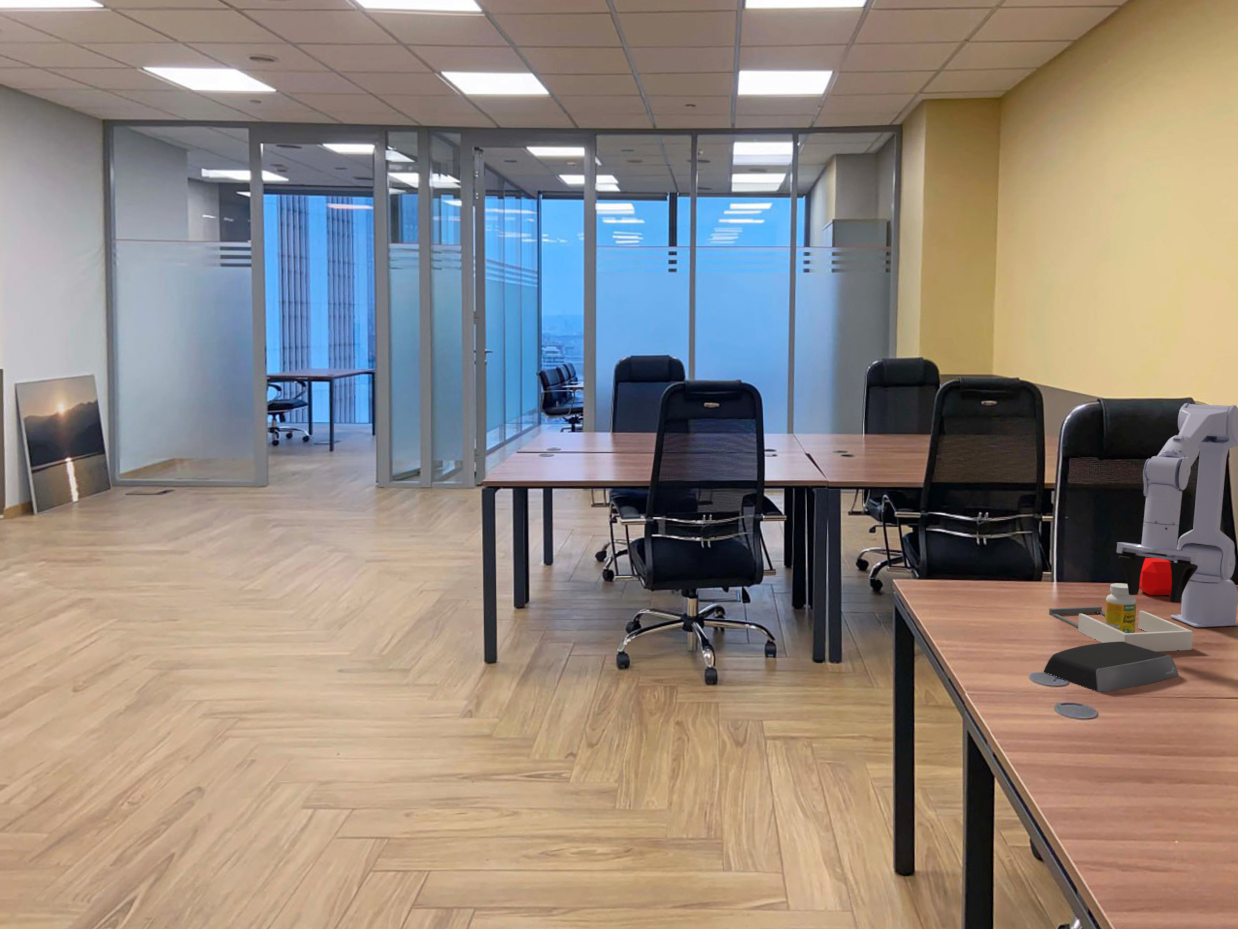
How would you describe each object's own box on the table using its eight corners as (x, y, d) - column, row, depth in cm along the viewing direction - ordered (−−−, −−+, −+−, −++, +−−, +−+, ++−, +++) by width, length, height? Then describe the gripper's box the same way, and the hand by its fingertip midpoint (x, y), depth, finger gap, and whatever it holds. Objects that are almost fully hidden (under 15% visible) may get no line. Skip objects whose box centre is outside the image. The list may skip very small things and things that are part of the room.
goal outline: (1099, 611, 228) (1099, 606, 227) (1129, 625, 217) (1129, 619, 217) (1049, 614, 226) (1049, 608, 226) (1077, 627, 216) (1077, 621, 216)
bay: (1141, 628, 215) (1142, 610, 215) (1191, 649, 201) (1193, 631, 201) (1078, 631, 213) (1078, 613, 213) (1123, 653, 199) (1124, 634, 198)
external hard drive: (1183, 679, 186) (1184, 656, 185) (1101, 696, 178) (1103, 672, 177) (1118, 658, 198) (1119, 636, 197) (1039, 673, 189) (1040, 650, 189)
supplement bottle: (1114, 628, 215) (1117, 580, 214) (1140, 635, 211) (1143, 586, 210) (1098, 632, 212) (1100, 584, 211) (1124, 639, 208) (1126, 590, 207)
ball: (1182, 598, 239) (1184, 563, 238) (1145, 598, 239) (1147, 563, 238) (1165, 589, 247) (1167, 556, 246) (1129, 589, 247) (1131, 556, 246)
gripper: (1110, 518, 200) (1103, 592, 200) (1191, 528, 188) (1183, 606, 189) (1130, 518, 204) (1123, 590, 205) (1210, 528, 192) (1203, 605, 193)
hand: (1153, 598), depth 197 cm, fingers open, 7 cm apart
